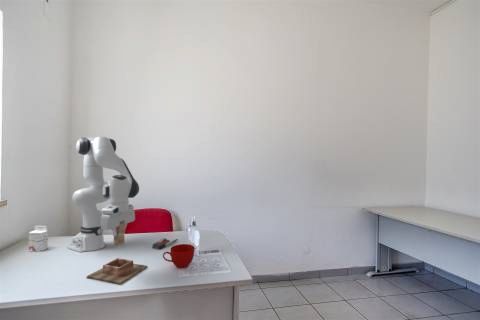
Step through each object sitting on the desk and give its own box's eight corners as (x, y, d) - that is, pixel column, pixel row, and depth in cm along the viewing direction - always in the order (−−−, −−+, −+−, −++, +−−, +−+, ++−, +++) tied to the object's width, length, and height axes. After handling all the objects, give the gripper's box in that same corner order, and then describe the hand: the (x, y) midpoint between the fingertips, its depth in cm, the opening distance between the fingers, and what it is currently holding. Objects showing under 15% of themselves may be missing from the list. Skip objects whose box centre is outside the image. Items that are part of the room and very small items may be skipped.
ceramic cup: (161, 264, 146) (161, 246, 146) (191, 260, 153) (191, 242, 153) (164, 274, 134) (164, 254, 134) (196, 269, 141) (197, 250, 141)
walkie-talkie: (162, 251, 167) (178, 241, 186) (162, 244, 167) (178, 235, 186) (150, 249, 170) (167, 239, 189) (150, 242, 170) (167, 233, 189)
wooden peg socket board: (86, 278, 128) (86, 268, 128) (116, 262, 147) (117, 253, 147) (120, 284, 122) (120, 274, 122) (147, 267, 141) (147, 258, 141)
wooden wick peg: (113, 244, 133) (113, 221, 133) (118, 242, 137) (119, 219, 136) (119, 245, 132) (119, 221, 132) (124, 243, 136) (124, 220, 135)
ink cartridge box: (28, 251, 161) (28, 227, 161) (34, 248, 166) (34, 225, 166) (42, 251, 161) (42, 227, 161) (48, 248, 166) (48, 225, 166)
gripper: (128, 203, 145) (128, 228, 145) (98, 210, 125) (98, 239, 126) (137, 204, 143) (137, 229, 143) (109, 211, 124) (108, 240, 124)
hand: (119, 234), depth 134 cm, fingers closed on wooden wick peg, 3 cm apart
